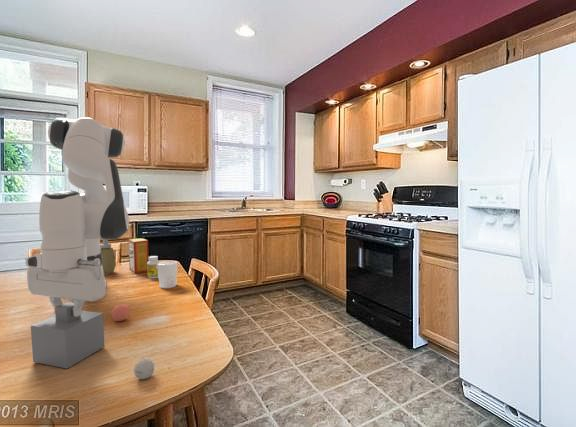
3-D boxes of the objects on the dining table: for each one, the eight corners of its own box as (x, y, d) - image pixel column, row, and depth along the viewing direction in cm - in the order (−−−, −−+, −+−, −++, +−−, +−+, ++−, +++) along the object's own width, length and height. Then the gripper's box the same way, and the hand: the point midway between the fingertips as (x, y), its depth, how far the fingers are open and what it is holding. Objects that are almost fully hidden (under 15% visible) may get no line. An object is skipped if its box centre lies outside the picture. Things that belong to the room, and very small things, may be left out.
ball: (107, 322, 95) (107, 306, 95) (120, 316, 100) (119, 301, 99) (121, 324, 94) (120, 308, 93) (133, 318, 98) (133, 302, 98)
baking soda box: (129, 270, 158) (128, 238, 157) (143, 267, 162) (142, 237, 161) (135, 273, 151) (133, 241, 150) (149, 271, 155) (148, 239, 154)
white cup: (171, 289, 127) (170, 265, 126) (154, 288, 128) (153, 264, 128) (181, 283, 135) (180, 261, 134) (165, 282, 136) (164, 260, 135)
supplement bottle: (162, 276, 147) (162, 255, 146) (154, 279, 142) (153, 258, 141) (153, 275, 148) (152, 255, 148) (144, 278, 143) (144, 257, 143)
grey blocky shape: (33, 361, 73) (29, 310, 72) (73, 341, 83) (70, 296, 82) (67, 368, 70) (63, 315, 69) (104, 346, 80) (102, 299, 79)
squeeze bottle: (102, 276, 147) (100, 238, 145) (93, 273, 151) (91, 237, 150) (119, 272, 153) (118, 236, 152) (110, 270, 158) (109, 235, 156)
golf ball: (133, 385, 65) (133, 366, 64) (134, 374, 68) (134, 357, 68) (154, 380, 66) (154, 362, 66) (154, 370, 70) (154, 353, 69)
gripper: (111, 258, 75) (113, 314, 76) (46, 253, 80) (49, 305, 81) (88, 264, 69) (91, 324, 70) (19, 258, 74) (23, 315, 75)
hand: (68, 314), depth 76 cm, fingers closed on grey blocky shape, 3 cm apart
